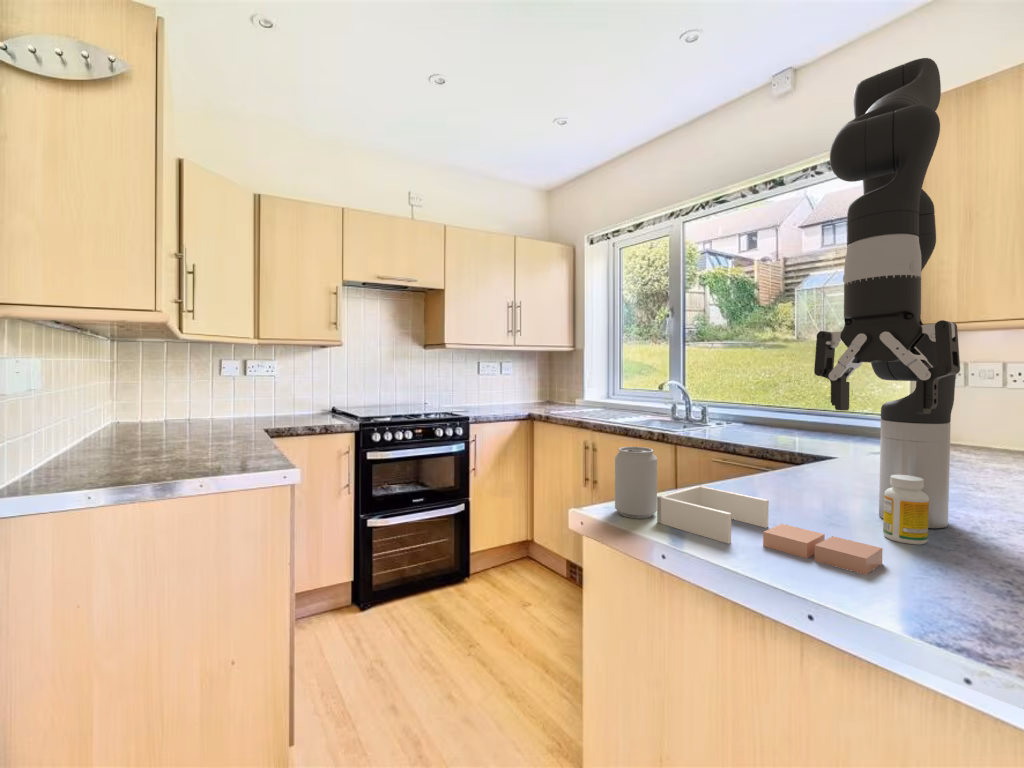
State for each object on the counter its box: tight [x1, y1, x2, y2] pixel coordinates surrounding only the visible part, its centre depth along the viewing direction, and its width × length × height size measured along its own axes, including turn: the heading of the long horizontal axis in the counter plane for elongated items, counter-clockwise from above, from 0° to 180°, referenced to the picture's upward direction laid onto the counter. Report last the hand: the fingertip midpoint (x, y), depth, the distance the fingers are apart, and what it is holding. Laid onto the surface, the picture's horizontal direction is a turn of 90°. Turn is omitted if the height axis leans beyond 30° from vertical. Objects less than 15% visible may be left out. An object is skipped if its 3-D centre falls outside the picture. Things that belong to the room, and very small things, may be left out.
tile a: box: [762, 523, 826, 559], centre depth 72 cm, size 6×6×2 cm
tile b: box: [814, 535, 884, 576], centre depth 66 cm, size 6×6×2 cm
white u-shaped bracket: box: [656, 484, 770, 545], centre depth 82 cm, size 13×13×4 cm
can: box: [614, 446, 658, 519], centre depth 89 cm, size 8×8×12 cm
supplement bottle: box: [882, 475, 929, 545], centre depth 75 cm, size 5×5×10 cm
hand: (880, 411), depth 59 cm, fingers open, 8 cm apart
